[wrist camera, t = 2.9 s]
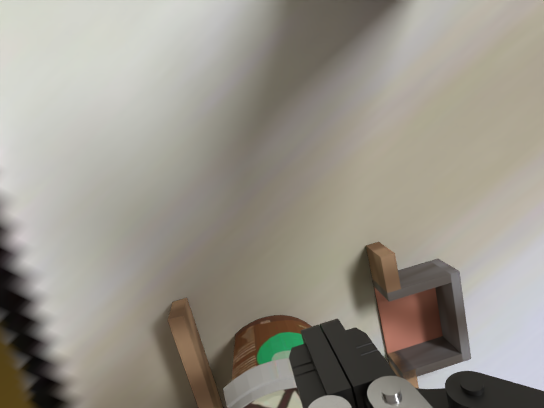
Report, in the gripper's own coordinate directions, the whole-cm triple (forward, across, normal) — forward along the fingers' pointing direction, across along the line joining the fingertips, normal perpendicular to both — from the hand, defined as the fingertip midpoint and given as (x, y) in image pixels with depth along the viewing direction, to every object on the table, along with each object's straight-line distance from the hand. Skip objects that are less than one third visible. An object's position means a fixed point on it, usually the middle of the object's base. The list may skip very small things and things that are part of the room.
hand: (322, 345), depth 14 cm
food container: (+17, 0, +11) cm, 20 cm away
